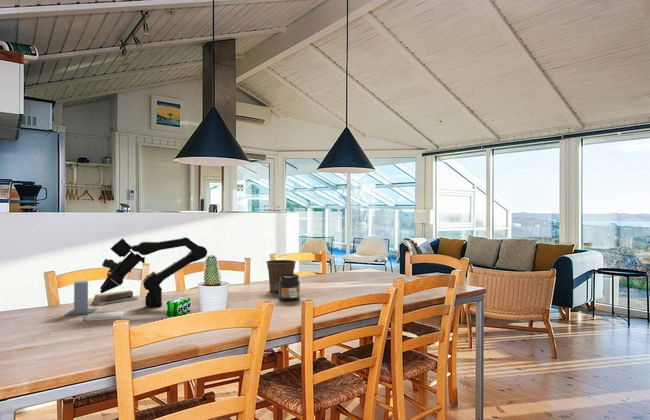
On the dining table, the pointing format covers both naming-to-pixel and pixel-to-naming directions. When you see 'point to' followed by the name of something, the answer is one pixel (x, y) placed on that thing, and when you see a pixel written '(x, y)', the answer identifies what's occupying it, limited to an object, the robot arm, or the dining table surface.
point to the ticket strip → (104, 316)
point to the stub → (81, 296)
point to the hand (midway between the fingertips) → (100, 290)
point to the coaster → (80, 313)
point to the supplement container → (289, 287)
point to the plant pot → (279, 271)
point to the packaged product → (113, 297)
